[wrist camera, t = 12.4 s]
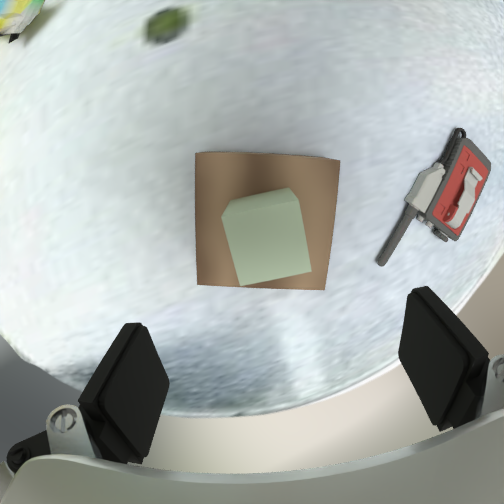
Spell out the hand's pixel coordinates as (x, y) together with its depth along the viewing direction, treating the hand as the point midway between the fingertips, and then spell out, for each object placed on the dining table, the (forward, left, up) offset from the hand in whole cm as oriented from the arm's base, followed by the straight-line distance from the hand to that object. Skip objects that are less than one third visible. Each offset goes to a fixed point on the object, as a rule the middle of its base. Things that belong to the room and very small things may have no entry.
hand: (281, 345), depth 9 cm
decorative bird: (+29, -43, -22) cm, 57 cm away
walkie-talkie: (-21, +2, -22) cm, 30 cm away
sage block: (0, 0, -16) cm, 16 cm away
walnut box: (0, 0, -22) cm, 22 cm away
